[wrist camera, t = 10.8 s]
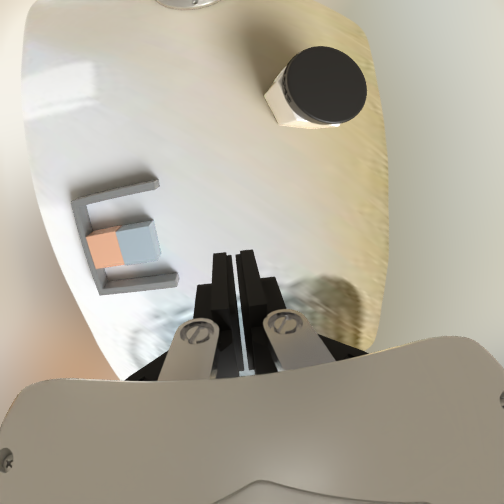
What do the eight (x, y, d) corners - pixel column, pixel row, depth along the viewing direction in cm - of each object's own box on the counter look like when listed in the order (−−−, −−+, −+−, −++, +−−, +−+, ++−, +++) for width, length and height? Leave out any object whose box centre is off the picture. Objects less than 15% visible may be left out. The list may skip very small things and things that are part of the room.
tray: (78, 197, 34) (70, 201, 31) (158, 179, 34) (153, 181, 32) (105, 287, 39) (99, 295, 37) (179, 278, 40) (176, 286, 38)
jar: (289, 59, 29) (317, 28, 18) (337, 94, 32) (382, 79, 21) (252, 108, 32) (266, 92, 21) (303, 142, 34) (338, 144, 23)
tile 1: (122, 225, 36) (115, 232, 34) (154, 219, 37) (148, 225, 34) (131, 256, 38) (125, 265, 36) (161, 252, 38) (157, 260, 36)
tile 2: (94, 230, 36) (85, 237, 33) (122, 224, 36) (115, 231, 33) (103, 260, 38) (95, 269, 35) (130, 256, 38) (124, 264, 35)
